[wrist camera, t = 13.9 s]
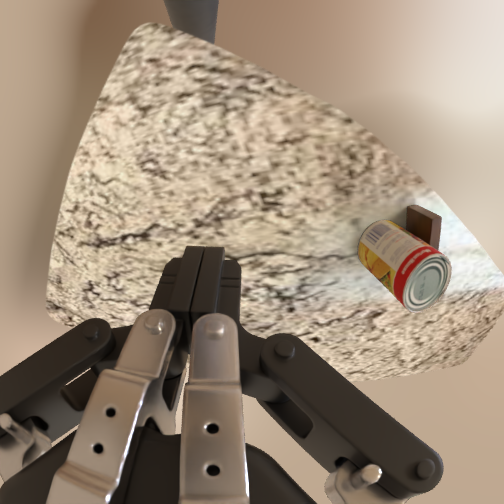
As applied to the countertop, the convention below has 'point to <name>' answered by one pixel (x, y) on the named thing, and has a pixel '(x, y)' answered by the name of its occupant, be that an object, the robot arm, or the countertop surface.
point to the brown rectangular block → (424, 225)
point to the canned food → (405, 265)
